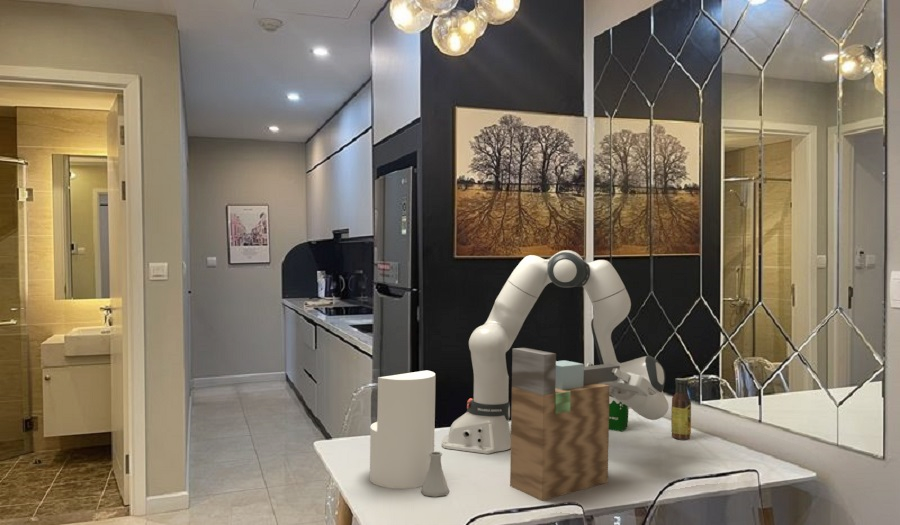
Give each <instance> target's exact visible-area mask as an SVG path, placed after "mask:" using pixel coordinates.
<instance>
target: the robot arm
mask: <svg viewBox="0 0 900 525" xmlns="http://www.w3.org/2000/svg"><path fill="white" fill-rule="evenodd" d="M551 283H553V284H554V285H555V286H557V287H559V288H564V289H565V288H566V289H567V288H568V289H569V288H575V287H582V288H583V289H584V290H585V292H586V293H587V295H588V299H589V300H590V302H591V305H592V307H593V318H592V319H591V321H590V326H591V333H592V337H593V341H594V346H595V349H596V352H597V357H598V360H599V363H600V364H599V365H603V364H612V365H618V366H620V370H619V369H616V368H613V371H612V374H613V375H614V376H617V377H618V378H617V381H616V380H615V381H610V382H602V383H600V384H605V385H609V386H610V391H609V396H611V397H613V398H615V399H617V400H618V401H620V402H622V403H623V404H625V405H626V406H628V407H629V408H631V409H632V411H633V412H635V413H636V414H637V415H639V416H641V417H643V418H645V419H647V420H651V421H656V420H660V419H662V418H664V416H665V415H666V414H667V413H668V410H669V402H668V400H667V398H666V396H665V394H664V391H663V390H664V387H665V383H666V372H665V368H664V367H663V365H662V363H661V362H659V361H658V360H657V359H656V358H655V357H653V356H651V355H645V356H641V357H638V358H634V359H631V360H628V361H624V362H619V361H618V359H617V356H616V353H615V349H614V345H613V342H612V332H613V331H614V330H615V328H616V327H617V326H619V325H620V324H621V323H622V322H623V321H624V320H625V319H626V318H627V317H628V315H629V313H630V311H631V308H632V307H631V306H632V302H631V298H630V295H629V293H628V290H627V289H626V286H625V284H624V282H623V281H622V279H621V277H620V275H619V273H618V272H617V270H616V269H615V267H614V266H613V264H612V263H611V262H610V261H608V260H607V259H606V260H605V259H597V260H593V261H590V262H586V261H585V260H584V259H583V258H582V256H581V255H580V254H579V253H578V252H577V251H574V250H571V249H570V250H569V249H566V250H565V249H564V250H559V251H558V252H557V253H555V254H553V255H552V256H550V257H548V258H546V259H545V258H542V257H541V256H538V255H534V254H530V255H526V256H525V257H523V259H521V261H519V263H518V265H516V267H515V268H513V271H512V272H511V274H510V275H509V277H508V278H507V280H506V282H505V283H504V285H503V286H502V288H501V290H500V292H499V294H498V295H497V296H496V299H495V301H494V304H493V306H492V309H491V311H490V313H489V315H488V317H487V320H486V321H485V322H484V324H482V325H480V326H478V327H476V328H475V329H474V330H473V331H472V333H471V335H470V337H469V340H468V347H469V348H468V349H469V351H470V358H471V364H472V370H473V372H472V373H473V398H469V399H468V400H467V402H466V412H465V413H464V414H462V415H461V416H459V417H457V418H456V419H455V420H454V421H453V422H452V424H451V425H450V427H449V431H448V435H446V436H444V437H443V439H442V440H441V447H443V449H449V450H457V451H464V452H470V453H479V454H489V455H490V454H493V453H497V452H504V451H507V450H511V429H510V422H509V421H510V418H511V406H510V404H511V402H510V401H509V384H510V382H509V380H510V377H509V373H508V368H507V359H506V353H507V352H508V351H509V350H510V349H511V347H512V345H513V343H514V341H515V340H516V339H517V336H518V335H519V332H520V331H521V329H522V327H523V324H524V322H525V320H526V319H527V317H528V316H529V314H530V312H531V310H532V309H533V307H534V305H535V304H536V302H537V300H538V299H539V297H540V295H541V294H542V292H543V291H544V289H545V287H547V285H548V284H551ZM586 366H594V364H593V363H591V362H589V363H586ZM586 366H585V367H586Z"/></svg>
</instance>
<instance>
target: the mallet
mask: <svg viewBox="0 0 900 525" xmlns="http://www.w3.org/2000/svg"><path fill="white" fill-rule="evenodd" d="M593 365H594V364H593ZM613 368H616V369H619V370H620V366H618V365H612V364H603V365H601V364H595V365H594V366H585V365H584V363H580V362H576V361H569V360H565V359H564V360H558V361H557V360H556V385H555V388H556V389H560V390H564V389H571V388H578V387H583V385H588V384H595V383H602V382H610V381H615V380H616V381H617V378H618V377H617V376H614V375H613V374H612V371H613Z"/></svg>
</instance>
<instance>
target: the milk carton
mask: <svg viewBox="0 0 900 525" xmlns="http://www.w3.org/2000/svg"><path fill="white" fill-rule="evenodd" d="M629 408H630V407H628V406H626V405H625V404H623V403H622V402H620V401H618V400H617V399H615V398H613V397H611V396H609V431H616V432H623V431H624V430H626V429H627V428H629V427H628V424H629V411H630V409H629Z"/></svg>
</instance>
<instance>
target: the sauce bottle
mask: <svg viewBox="0 0 900 525" xmlns="http://www.w3.org/2000/svg"><path fill="white" fill-rule="evenodd" d="M688 381H689V380H688V378H682V377H681V378H680V377H677V378H675V379H674V383H675V389H674V391H675V393H674V394H673V396H672V398H671V417H670V418H671V423H670V424H671V426H670V427H671V428H670V429H671V430H670V432H671V437H672V438H673V439H676V440H683V441H685V440H686V441H687V440H690V439H691V433H692V402H691V401H692V400H691V399H690V395H689V394H688V392H689V391H688V384H689V382H688Z"/></svg>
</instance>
